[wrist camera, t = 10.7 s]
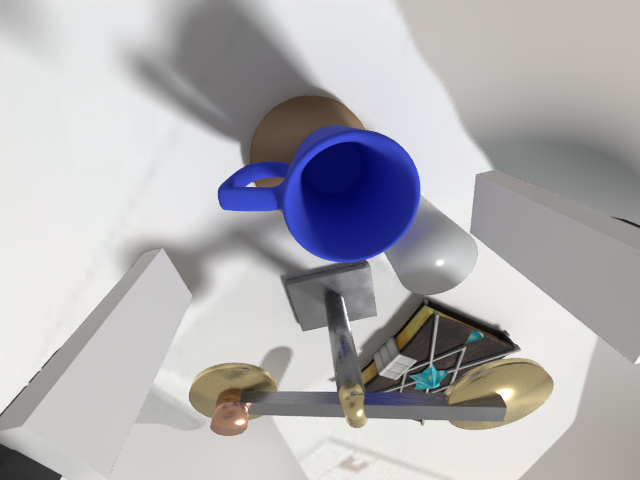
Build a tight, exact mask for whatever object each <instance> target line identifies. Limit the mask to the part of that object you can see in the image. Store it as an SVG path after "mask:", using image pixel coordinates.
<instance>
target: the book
mask: <svg viewBox="0 0 640 480" xmlns="http://www.w3.org/2000/svg"><path fill="white" fill-rule="evenodd" d="M509 336H510V335H509V334H508V333H507V332H504V334H503V333H502V332H500V331H497V330H495V329H492V328H490V327H487V326H485V325H482V324H480V323H478V322H475V321H473V320H471V319H469V318H466V317H464V316H462V315H459V314H457V313H455V312H453V311H450V310H448V309H446V308H444V307H442V306H440V305H437V304H435V303H433V302H431V301H429V300H427V299H426V298H425V299H423V303H422V304H421V305H420V306H419V308H418V309H417V310H416V311H415V313H414V314H413V315H412V316H411V317H410V319H409V320H408V321H407V322H406V324H405V325H404V326H403V327H402V328H401V329H400V331H399V332H398V333H397V334H396V335H395V336H394V337H393V336H391V337H390V338H389V340H388V341H387V342H386V343H385V344H384V345H383V346H382V347H381V348H380V349H379V350H378V351H377V352H376V353H375V354H374V355H373V357H374V359H373V360H372V361H371V362H370V363H369V364H368V365H367V366H366V367H365V368H363V369H362V370H361V374H362V379H363V383H364V387H365V391H366V392H404V393H445V391H446V389H447V388H448V387H449V386H450V385H451V384H452V383H453V382H454V381H455V380H456V379H457V378H459V377H460V376H462V375H463V374H465V373H466V372H468V371H470V370H472V369H474V368H476V367H478V366H481V365H483V364H486V363H489V362H493V361H497V360H501V359H502V358H504V357H505V356H507V355H509V354H512V353H515V352H518V351H521V349H520V348H519V347H518V345H517V344H514V343H513V342H512V340H511V339H510V338H509ZM412 420H415V421H418V422H421V425H424V420H420V419H412Z"/></svg>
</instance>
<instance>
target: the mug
mask: <svg viewBox="0 0 640 480" xmlns="http://www.w3.org/2000/svg"><path fill="white" fill-rule="evenodd" d="M268 177H281V178H285V179H284V181H283V182H282V183H281V184H280V185H278V186H274V187H246V186H247V185H248V184H250V183H251V182H253V181H255V180H258V179H261V178H268ZM218 199H219V204H220V206H221V207H222V209H224V210H231V211H271V210H283V215H284V218H285V221H286V224H287V227H288V229H289V231H290V232H291V234H292V236H293V237H294V238H295V240H296V241H297V242H298V243H299V244H300V245H301V246H302V247H303V248H304V249H306V250H307V251H309V252H310V253H312V254H314V255H315V256H317V257H320V258H322V259H326V260H329V261H334V262H356V261H361V260H366V259H369V258H372V257H374V256H376V255H378V254H380V253H382V252H384V251H386V250H387V249H389V248H390V247H391V246H393V245H394V244H395V243H396V242H397V241H398V240H399V239H400V238H401V237H402V236H403V235H404V234H405V233H406V231H407V230H408V228H409V227H410V225H411V224H412V222H413V220H414V218H415V215H416V213H417V210H418V206H419V201H420V180H419V175H418V172H417V169H416V166H415V164H414V162H413V160H412V159H411V157H410V156H409V154H408V153H407V152H406V151H405V150H404V149H403V147H401V146H400V145H399V144H398V143H397V142H395V141H394V140H392V139H391V138H389V137H387V136H385V135H382V134H380V133H377V132H373V131H368V130H362V129H357V128H351V127H346V126H338V125H334V126H326V127H323V128H320V129H318V130H316V131H314V132H313V133H311V134H310V135H309V136H307V137H306V138H305V140H304V141H303V142H302V143H301V145H300V146H299V148H298V150H297V152H296V154H295V156H294V159H293V161H292V163H291V165H289V164H288V163H284V162H258V163H253V164H250V165H247V166H245V167H243V168H241V169H240V170H238V171H237V172H235V173H234V174H233V175H231V176H230V177H229V178H228V179H227V180H226V181H225V182H224V183H223V184H222V185H221V186H220V187H219V189H218Z"/></svg>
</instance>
